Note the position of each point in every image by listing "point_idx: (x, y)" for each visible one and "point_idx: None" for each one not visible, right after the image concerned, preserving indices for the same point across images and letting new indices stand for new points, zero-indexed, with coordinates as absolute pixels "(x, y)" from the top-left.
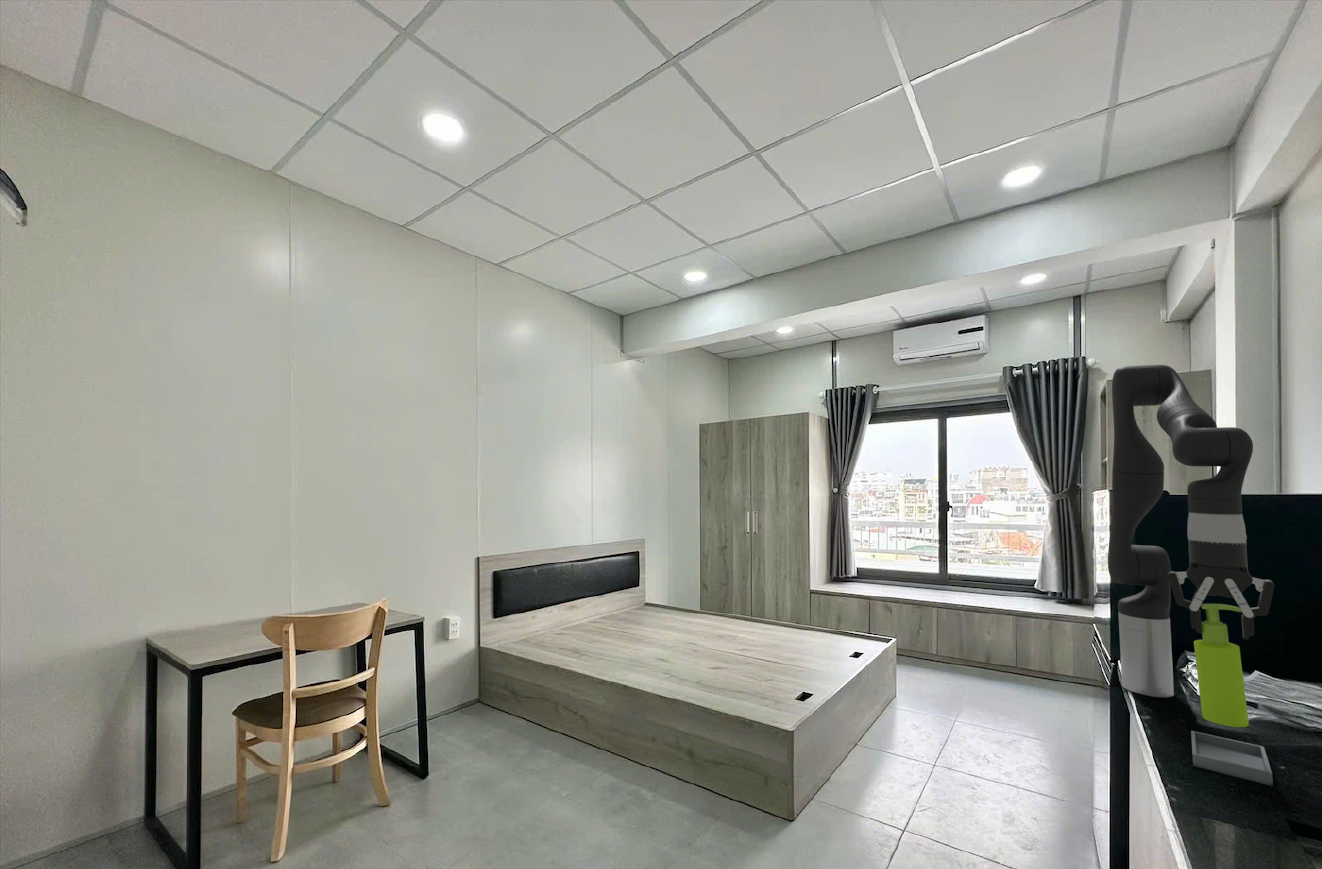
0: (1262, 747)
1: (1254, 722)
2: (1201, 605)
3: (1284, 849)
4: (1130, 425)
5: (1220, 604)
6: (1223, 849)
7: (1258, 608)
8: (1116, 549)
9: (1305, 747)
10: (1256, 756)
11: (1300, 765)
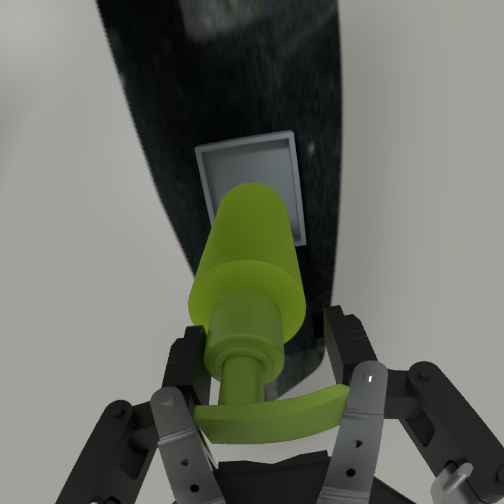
0: (292, 139)
1: None
2: (207, 437)
3: (307, 366)
4: None
5: (273, 424)
6: (271, 393)
7: (404, 418)
8: None
9: (333, 25)
10: (282, 145)
11: (331, 118)
